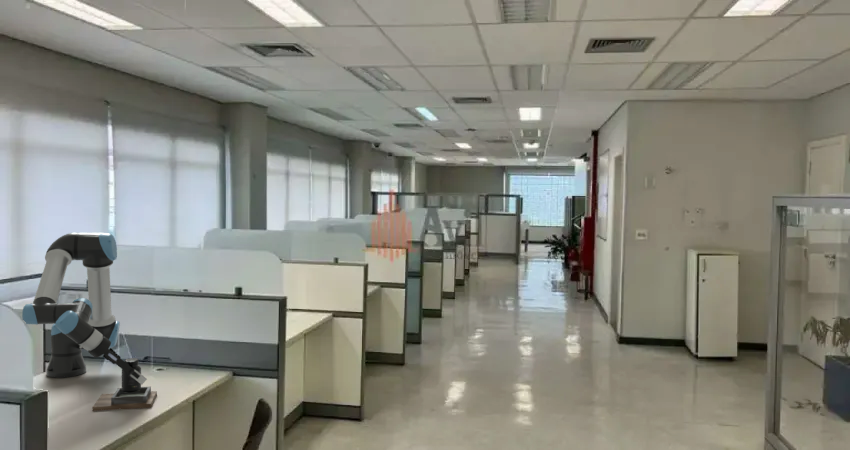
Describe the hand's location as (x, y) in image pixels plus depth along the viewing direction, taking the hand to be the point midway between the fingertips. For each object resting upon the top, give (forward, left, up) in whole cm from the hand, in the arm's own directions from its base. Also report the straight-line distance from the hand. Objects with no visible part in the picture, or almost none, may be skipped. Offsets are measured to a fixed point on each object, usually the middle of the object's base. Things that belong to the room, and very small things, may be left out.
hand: (141, 379), depth 241 cm
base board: (+1, -5, -8) cm, 10 cm away
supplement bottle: (+1, -3, -4) cm, 5 cm away
